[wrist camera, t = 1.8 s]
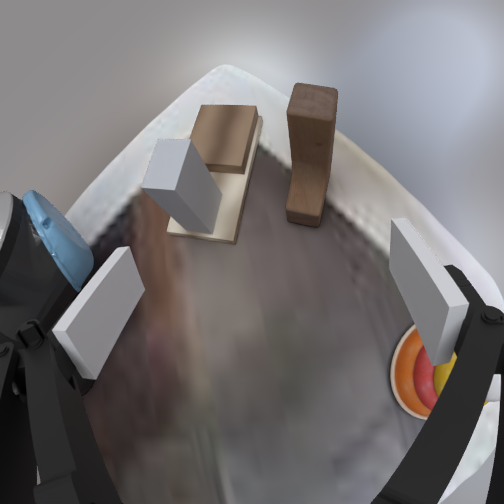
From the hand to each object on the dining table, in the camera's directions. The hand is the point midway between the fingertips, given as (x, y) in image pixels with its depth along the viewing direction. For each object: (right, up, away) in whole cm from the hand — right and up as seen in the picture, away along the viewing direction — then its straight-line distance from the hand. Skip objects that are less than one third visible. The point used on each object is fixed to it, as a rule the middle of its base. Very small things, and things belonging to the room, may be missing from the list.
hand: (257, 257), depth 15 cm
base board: (-5, +12, +33) cm, 35 cm away
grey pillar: (-7, +6, +30) cm, 31 cm away
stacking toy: (+24, -15, +21) cm, 35 cm away
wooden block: (+8, +8, +30) cm, 32 cm away
